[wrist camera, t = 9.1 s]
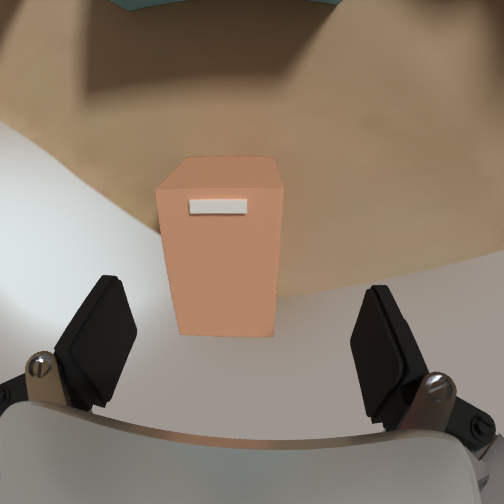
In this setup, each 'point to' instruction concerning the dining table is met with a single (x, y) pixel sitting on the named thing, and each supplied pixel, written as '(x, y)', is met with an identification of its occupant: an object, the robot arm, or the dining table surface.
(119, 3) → the teal rectangular block
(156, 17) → the dining table surface
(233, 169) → the stub
